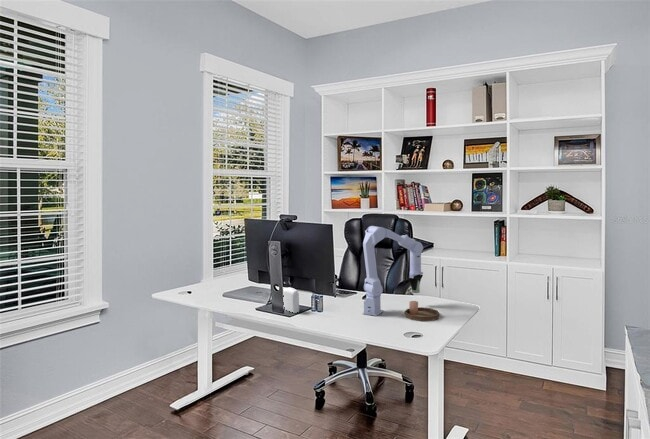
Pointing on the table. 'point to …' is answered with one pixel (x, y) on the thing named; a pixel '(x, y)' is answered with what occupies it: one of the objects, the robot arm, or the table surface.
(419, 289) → the sage green bead
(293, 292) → the photo printer
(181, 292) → the table surface
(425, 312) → the tray
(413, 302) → the terracotta bead
